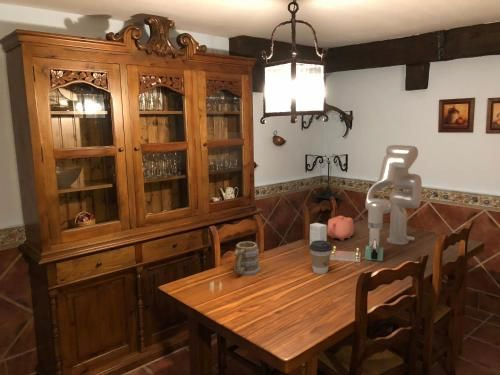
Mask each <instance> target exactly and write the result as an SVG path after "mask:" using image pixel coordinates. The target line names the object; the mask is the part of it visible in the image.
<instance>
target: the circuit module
mask: <svg viewBox="0 0 500 375" xmlns="http://www.w3.org/2000/svg"><path fill="white" fill-rule="evenodd" d="M371 252H372V246H369V245H366V246H365V251H364V253H365V254H364V255H365V256H364V260H367V261H368V260H369V261H378V262H383V261H384V259H383V258H384V247H382V246H378V247H377V259H371Z"/></svg>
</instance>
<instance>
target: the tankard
mask: <svg viewBox="0 0 500 375" xmlns="http://www.w3.org/2000/svg"><path fill="white" fill-rule="evenodd" d="M233 254H234V256H235V260H234V263H236V266H234V267H233V271H234V270H235V271H234V272H235V273H236V275H240V274H241V275H242V276H246V275H247V276H251V275H252V276H253V274H254V275H257V274H258V273H259V272H260V271H261V266H259V263H260V258H259V257H258V255H259V254H260V249H259V248H258V243H256V242H255V241H249V240H248V241H240V242H238V243H237V244H235V249H234V253H233ZM241 275H240V276H241Z"/></svg>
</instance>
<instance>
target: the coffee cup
mask: <svg viewBox="0 0 500 375" xmlns="http://www.w3.org/2000/svg"><path fill="white" fill-rule="evenodd" d="M308 249H309V250H310V256H311V257H310V258H311V266H312V271H313V273H314V274H317V275H325V274H327V273H328V271H329V266H330V261H331V260H330V255H331V251H332V250H333V246H332V245H331V243H330V242H329V241H323V240H317V241H313V242H312V243H311V245H310V244H309V248H308Z"/></svg>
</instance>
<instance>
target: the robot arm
mask: <svg viewBox="0 0 500 375" xmlns="http://www.w3.org/2000/svg"><path fill="white" fill-rule="evenodd" d="M385 151H386V153H385V154H386V155H385V156H384V157H383V160H382V164H381V168H380V172H379V177H378V180H377V181H376V182H374V183H373V184H372V185H371V187H370V188H369V189H368V191H367V194H366V199H365V203H364V204H365V209H366V210H367V211H368V212H367V228H368V229H369V233H368V234H369V236H368V237H369V239H368V246H372V252H371V259H377V247H380V246H379V245H380V238H381V234H380V233H381V230H383V221H384V215H385V214H390V222H389V223H390V224H389V237H387V238H386V242H387V243H389V244H392V245H397V246H398V245H399V246H400V245H401V246H402V245H408V244H409V241H415V237H414V236H412V235H411V236H410V235H409V236H408V235H407V227H408V224H407V223H408V212H407V210H406V209H419V208H420V206H421V202H422V178H421V175H419V174H416V173H409V170H410V169H411V167H412V166H413V164H414V163H415V162H416V160H417V158H418V156H419V150H418V148H417V147H416V146H415V145H401V144H393V145H391V144H390V145H388V146H387V147H386V150H385ZM389 186H393V187H394V188H395V189H398V190H393V191H392V192H391V193H390V194H389V199H385V198H384V199H383V198H378V197H377V198H376V197H375V196H376V193H378V191H380V190H381V189H384V188H386V187H389ZM405 190H409V191H405Z"/></svg>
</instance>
